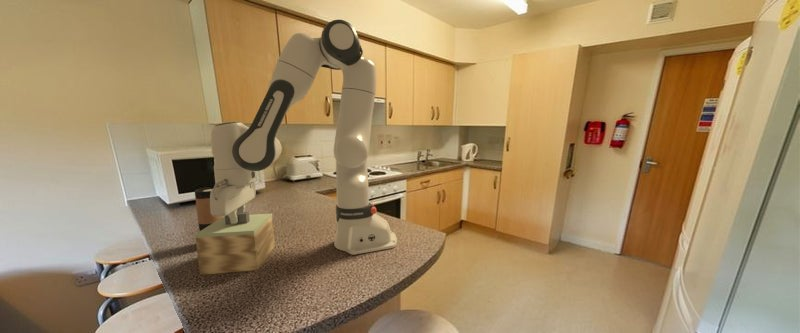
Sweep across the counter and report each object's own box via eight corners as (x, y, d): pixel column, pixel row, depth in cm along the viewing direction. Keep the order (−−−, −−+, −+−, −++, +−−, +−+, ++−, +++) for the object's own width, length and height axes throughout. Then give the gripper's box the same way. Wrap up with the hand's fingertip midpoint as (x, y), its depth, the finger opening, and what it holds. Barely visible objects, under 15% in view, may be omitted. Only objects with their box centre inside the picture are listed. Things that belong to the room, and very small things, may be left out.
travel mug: (206, 250, 84) (199, 192, 82) (197, 244, 88) (190, 190, 86) (231, 241, 91) (225, 188, 88) (221, 237, 95) (215, 186, 92)
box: (274, 246, 87) (272, 216, 85) (257, 269, 72) (254, 233, 71) (228, 249, 84) (224, 218, 83) (200, 274, 70) (195, 237, 68)
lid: (272, 219, 85) (271, 205, 85) (254, 237, 71) (252, 220, 70) (224, 222, 83) (223, 207, 82) (195, 241, 68) (193, 223, 68)
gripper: (226, 183, 65) (231, 233, 67) (257, 171, 85) (261, 210, 87) (199, 184, 64) (205, 235, 66) (237, 171, 84) (241, 211, 86)
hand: (237, 220), depth 76 cm, fingers closed on lid
